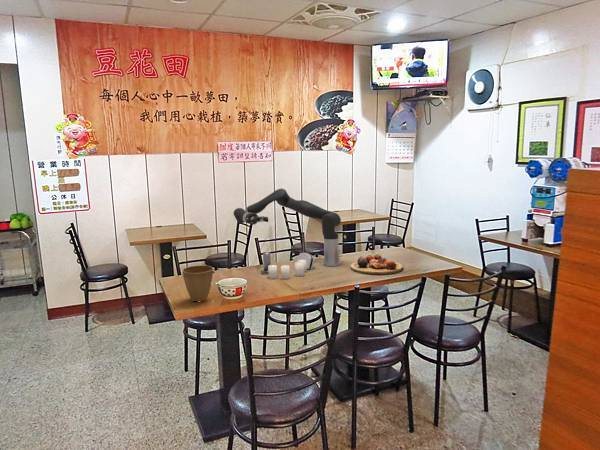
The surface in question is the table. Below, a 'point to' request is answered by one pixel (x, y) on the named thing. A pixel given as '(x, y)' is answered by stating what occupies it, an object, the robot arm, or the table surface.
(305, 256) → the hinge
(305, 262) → the spacer
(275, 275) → the cylinder
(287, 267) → the spacer
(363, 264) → the wooden plate with food
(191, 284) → the plant pot
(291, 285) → the table surface
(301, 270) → the spacer
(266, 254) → the bushing
